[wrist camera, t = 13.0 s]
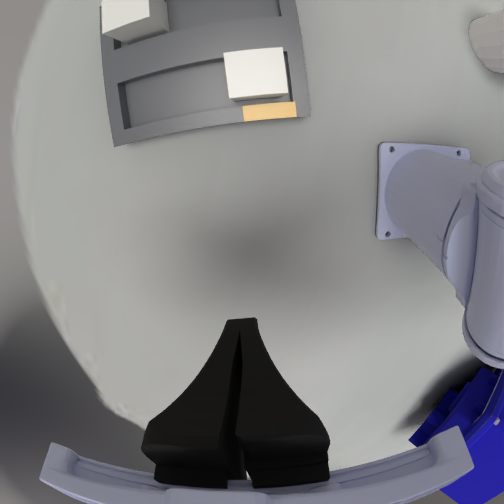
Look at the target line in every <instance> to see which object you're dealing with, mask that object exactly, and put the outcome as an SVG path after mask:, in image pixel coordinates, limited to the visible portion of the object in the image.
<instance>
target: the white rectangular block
mask: <svg viewBox="0 0 504 504" xmlns="http://www.w3.org/2000/svg"><path fill="white" fill-rule="evenodd" d="M166 33H170V31H169V21H168V9H167V3H166V2H165V1H164V0H103V1H102V34H104V35H107V36H109V37H112V38H114V39H117V40H119V41H122V42H124V43H126V44H129V45H130V44H133V43H136V42H139V41H142V40H145V39H148V38H152V37H155V36H159V35H162V34H166Z"/></svg>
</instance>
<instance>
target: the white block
mask: <svg viewBox="0 0 504 504" xmlns="http://www.w3.org/2000/svg"><path fill="white" fill-rule="evenodd" d="M223 54H224V62H225V70H226V77H227V85H228V93H229V99H231V100H233V101H234V102H237V101H245V100H254V99H264V98H277V97H282V96H284V95H286V94H287V93H288V86H287V77H286V69H285V62H284V54H283V47H276V48H262V49H251V50H242V51H233V52H226V53H223Z"/></svg>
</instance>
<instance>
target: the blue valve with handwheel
mask: <svg viewBox="0 0 504 504" xmlns="http://www.w3.org/2000/svg"><path fill="white" fill-rule="evenodd" d="M455 426H459V429H460V431H461V433H462V436H463V438H464V441H465V443H466V446H467V448H468V451H469V453H470V456H471V459H472V461H473V464H474V468H473V469H472V470H471V471H469V472H468V473H466V474H465V475H463V476H462V477H460V478H459V479H457V480H456V481H454V482H452V483H451V484H449V485H447V486H445V487H443V488H441V489H440V490H441V491H442V492H444V493H445V494H446V495H448V496H449V497H450V498H452V499H453V500H454V501H456V502H457V503H458V504H484V503H486V502H487V501H489V500H491V499H492V498H494V497H495V496H497V495H498V494H500V493H502V492H503V491H504V369H500V368H497V369H496V370H495V372H494V373H492V372H491V371H489V370H487V369H486V368H484V367H482V368H480V370H479V371H478V373H477V374H476V376H475V377H474V379H473V380H472V381H471V383H470V382H467V383H466V385H465V386H464V388H463V389H462V390H461V392H460V393H458V392H456V391H455V390H453V389H452V388H450V389H449V391H448V392H447V394H446V395H445V396H444V398H443V399H442V400H441V402H440V403H439V404H438V405H437V407H436V408H435V409H434V410H433V412H432V413H431V414H430V415H429V417H428V418H427V419H426V420H425V422H424V423H423V424H422V425H421V426H420V428H419V429H418V430H417V431H416V432H415V433H414V434H413V435H412V437H411V438H410V439H409V441H410V442H411V443H412V444H414V445H415V446H416V447H419V446H422V445H425V444H427V443H428V442H429V440H430V439H431V438H433V437H434V436H435V435H437V434H439V433H441V432H444V431H446V430H448V429H450V428H452V427H455Z"/></svg>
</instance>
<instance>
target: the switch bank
mask: <svg viewBox="0 0 504 504" xmlns="http://www.w3.org/2000/svg"><path fill="white" fill-rule="evenodd" d="M164 1H165V2H166V3H167V9H168V21H169V31H170V33H166V34H162V35H159V36H155V37H152V38H148V39H145V40H142V41H139V42H136V43H133V44H130V45H129V44H126V43H124V42H122V41H119V40H117V39H114V38H112V37H109V36H107V35H104V34H102V6H100V36H101V53H102V65H103V75H104V84H105V93H106V100H107V107H108V114H109V120H110V126H111V132H112V138H113V143H114V147H117V146H120V145H124V144H128V143H132V142H136V141H139V140H144V139H148V138H152V137H156V136H161V135H165V134H170V133H175V132H180V131H185V130H191V129H196V128H202V127H208V126H215V125H221V124H228V123H236V122H245V121H254V120H264V119H275V118H289V117H307V116H311V113H310V103H309V93H308V84H307V75H306V67H305V60H304V52H303V45H302V39H301V32H300V26H299V20H298V14H297V8H296V3H295V0H164ZM276 47H283V54H284V62H285V69H286V77H287V86H288V93H287V94H286V95H284V96H282V97H277V98H264V99H254V100H245V101H237V102H234V101H233V100H231V99H229V93H228V85H227V77H226V70H225V62H224V54H223V53H226V52H233V51H242V50H251V49H262V48H276Z"/></svg>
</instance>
